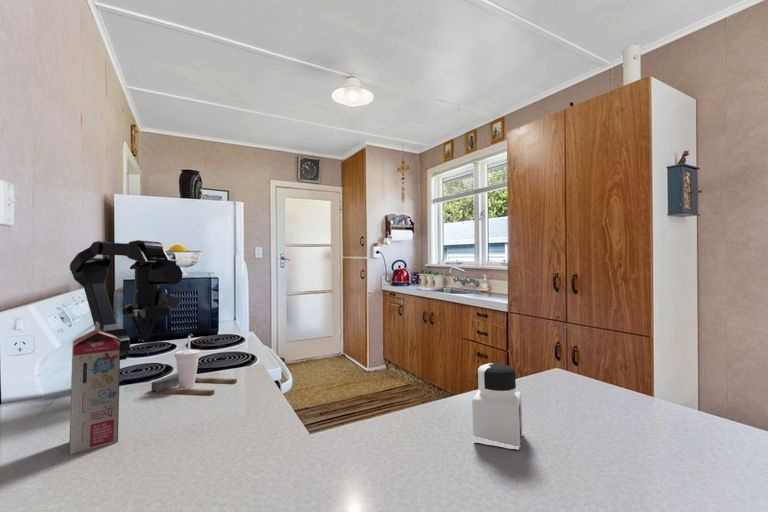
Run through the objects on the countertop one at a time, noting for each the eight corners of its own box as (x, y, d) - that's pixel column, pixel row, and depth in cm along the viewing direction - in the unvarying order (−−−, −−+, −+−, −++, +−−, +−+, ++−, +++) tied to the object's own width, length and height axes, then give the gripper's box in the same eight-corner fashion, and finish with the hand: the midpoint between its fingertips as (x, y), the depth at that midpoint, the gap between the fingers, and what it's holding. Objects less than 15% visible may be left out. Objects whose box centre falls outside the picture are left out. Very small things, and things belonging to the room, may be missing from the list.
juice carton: (113, 431, 71) (116, 319, 72) (117, 442, 66) (120, 322, 67) (69, 441, 66) (73, 323, 68) (70, 454, 61) (74, 326, 63)
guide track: (149, 392, 95) (150, 382, 95) (180, 380, 106) (180, 371, 106) (211, 394, 92) (212, 385, 92) (236, 382, 103) (236, 373, 103)
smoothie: (204, 383, 102) (205, 334, 103) (190, 390, 96) (191, 338, 97) (183, 383, 103) (184, 334, 104) (168, 390, 97) (169, 338, 97)
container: (523, 433, 66) (520, 362, 67) (519, 452, 59) (516, 373, 60) (480, 426, 70) (478, 359, 70) (473, 443, 63) (470, 368, 63)
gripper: (191, 284, 101) (190, 339, 100) (164, 284, 113) (163, 334, 112) (146, 285, 92) (145, 346, 91) (122, 285, 104) (121, 339, 103)
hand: (145, 341), depth 100 cm, fingers closed
